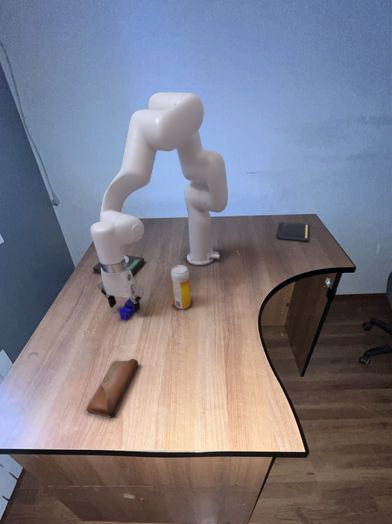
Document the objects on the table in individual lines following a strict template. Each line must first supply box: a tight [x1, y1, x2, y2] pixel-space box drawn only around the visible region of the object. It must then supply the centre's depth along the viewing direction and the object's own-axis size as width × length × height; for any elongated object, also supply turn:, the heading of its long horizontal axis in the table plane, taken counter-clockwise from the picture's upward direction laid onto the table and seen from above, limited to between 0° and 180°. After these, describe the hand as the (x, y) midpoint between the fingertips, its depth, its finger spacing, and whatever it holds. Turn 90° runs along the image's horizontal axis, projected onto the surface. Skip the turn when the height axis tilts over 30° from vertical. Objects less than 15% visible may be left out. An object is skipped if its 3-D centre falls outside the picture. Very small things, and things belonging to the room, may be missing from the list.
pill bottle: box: [170, 264, 191, 310], centre depth 94 cm, size 6×6×15 cm
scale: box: [92, 254, 146, 276], centre depth 119 cm, size 18×14×3 cm
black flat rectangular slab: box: [277, 221, 310, 243], centre depth 138 cm, size 20×2×15 cm
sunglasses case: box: [85, 358, 139, 419], centre depth 74 cm, size 18×7×7 cm
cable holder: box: [118, 297, 135, 321], centre depth 96 cm, size 8×4×4 cm, turn 161°
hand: (125, 307), depth 96 cm, fingers open, 9 cm apart
